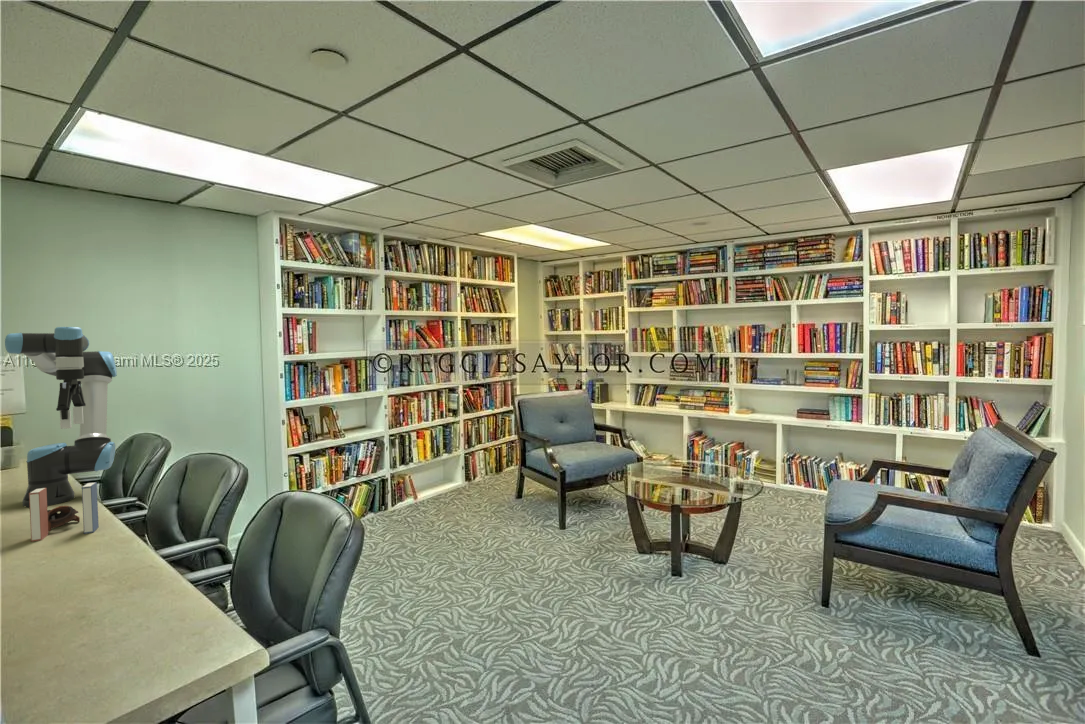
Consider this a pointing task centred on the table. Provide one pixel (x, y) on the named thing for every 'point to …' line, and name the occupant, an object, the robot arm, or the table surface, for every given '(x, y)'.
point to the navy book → (90, 507)
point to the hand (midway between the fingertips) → (72, 426)
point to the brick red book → (38, 514)
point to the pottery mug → (61, 516)
